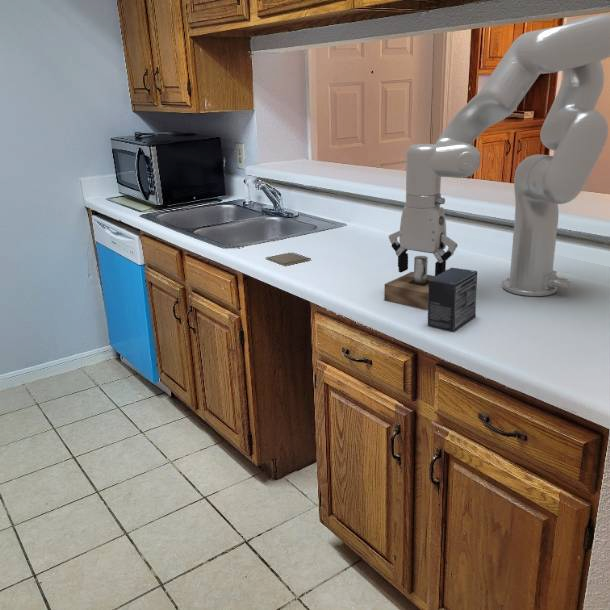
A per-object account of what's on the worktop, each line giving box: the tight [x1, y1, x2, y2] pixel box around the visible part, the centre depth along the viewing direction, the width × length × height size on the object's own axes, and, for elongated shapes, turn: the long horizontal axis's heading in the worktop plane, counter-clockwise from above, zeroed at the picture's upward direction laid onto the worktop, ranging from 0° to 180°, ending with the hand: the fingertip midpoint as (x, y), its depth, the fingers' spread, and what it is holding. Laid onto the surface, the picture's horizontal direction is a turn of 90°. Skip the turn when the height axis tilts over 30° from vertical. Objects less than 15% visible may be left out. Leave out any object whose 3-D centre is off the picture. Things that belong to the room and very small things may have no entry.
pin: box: [413, 255, 429, 286], centre depth 141 cm, size 3×3×10 cm
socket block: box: [383, 271, 435, 311], centre depth 142 cm, size 12×12×4 cm
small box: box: [427, 267, 478, 333], centre depth 127 cm, size 11×6×10 cm, turn 141°
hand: (421, 274), depth 141 cm, fingers open, 9 cm apart
